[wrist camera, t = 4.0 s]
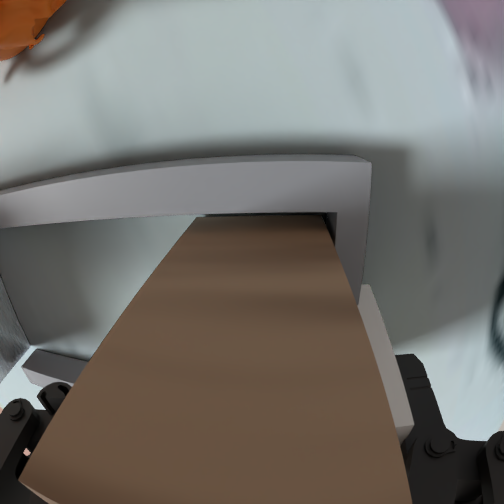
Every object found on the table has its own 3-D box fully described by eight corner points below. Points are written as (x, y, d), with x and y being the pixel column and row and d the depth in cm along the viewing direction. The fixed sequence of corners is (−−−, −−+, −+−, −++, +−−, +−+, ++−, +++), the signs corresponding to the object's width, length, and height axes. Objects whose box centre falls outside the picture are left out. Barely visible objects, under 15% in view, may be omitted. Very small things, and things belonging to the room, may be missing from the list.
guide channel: (-18, 195, 12) (-42, 206, 10) (355, 155, 10) (371, 163, 8) (44, 364, 17) (30, 382, 15) (328, 397, 15) (332, 426, 13)
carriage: (196, 217, 11) (2, 512, 1) (321, 215, 11) (422, 581, 1) (218, 373, 14) (171, 578, 5) (309, 375, 14) (315, 589, 4)
